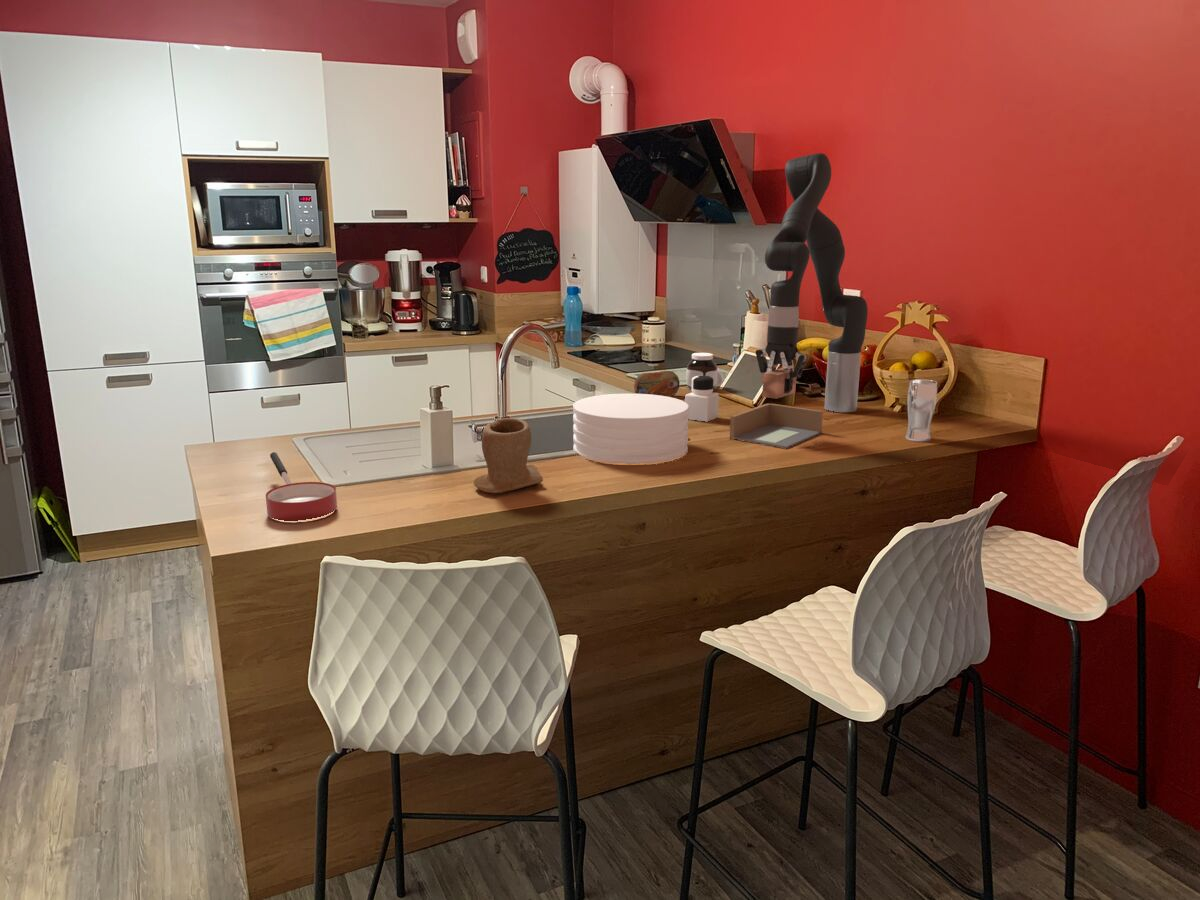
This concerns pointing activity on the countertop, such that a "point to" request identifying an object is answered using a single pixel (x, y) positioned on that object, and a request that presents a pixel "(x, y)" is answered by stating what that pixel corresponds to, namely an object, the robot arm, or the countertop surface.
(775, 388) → the block
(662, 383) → the tin
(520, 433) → the stone cup
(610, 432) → the plate stack
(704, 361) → the spread jar
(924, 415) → the beer glass
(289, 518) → the frying pan
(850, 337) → the robot arm
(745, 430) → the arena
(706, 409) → the medicine bottle
